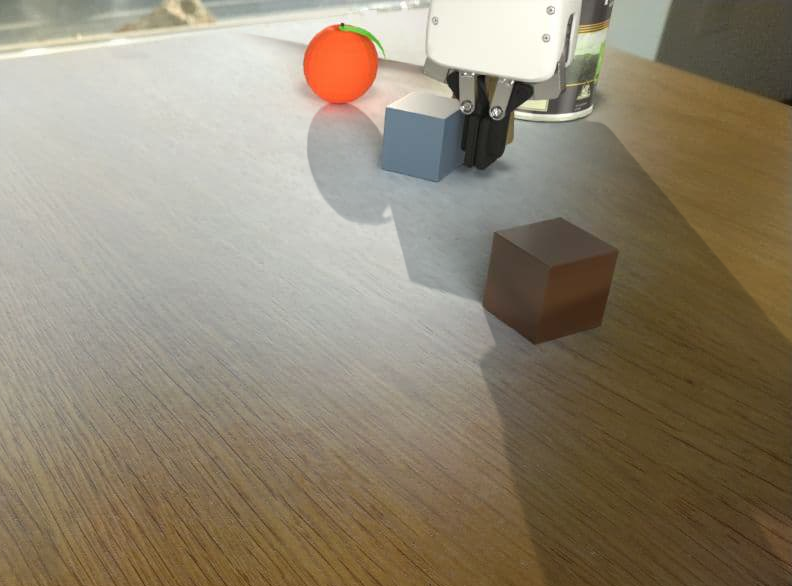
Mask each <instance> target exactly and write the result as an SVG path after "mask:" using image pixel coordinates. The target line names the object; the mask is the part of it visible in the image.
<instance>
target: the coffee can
mask: <svg viewBox="0 0 792 586" xmlns="http://www.w3.org/2000/svg"><path fill="white" fill-rule="evenodd" d="M614 3H615V0H582V5H581V15H580V23H579V31H578V38H577V44H576V49H575V53H574V57H573V60H572V62H571V64H570V65H569V66H567V67H566V68H565V73H566V91H565V92H564V93H563V94H562V95H561V96H559V97H558V98H556V99H549V100H527V101H526V102H524V103H523V104H522V105H520V106H519V107H518V108H516V109H515V110H514V119H517V120H523V121H529V122H530V121H531V122H544V123H545V122H548V123H549V122H551V123H552V122H555V123H556V122H568V121H574V120H580V119H583V118H585V117H587V116H589V115H590V114H591V113H592V112H593V110H594V102H595V97H596V92H597V87H598V82H599V76H600V71H601V67H602V62H603V57H604V52H605V46H606V41H607V37H608V32H609V27H610V22H611V18H612V14H613V13H612V12H613V8H614ZM568 40H569V39H568Z"/></svg>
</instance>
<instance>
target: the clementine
mask: <svg viewBox="0 0 792 586" xmlns="http://www.w3.org/2000/svg"><path fill="white" fill-rule="evenodd" d="M375 44H376V45H377V46H378V48H379V49H380V51H381V52H382V55H383V57H384V60H385V61H387V58H386V54H385V50H384V48H383V45H382V44H381V43H380V40H379V39H377V37H375V35H374V34H372V33H371V32H370V31H368V30H367V29H364V28H361V27H359V26H355V25H351V24H347V23H346V24H345V22H340V23H339V24H338V23H337V24H331V25H328V26H325V28H323V29H321V30H320V31H319V32H317V33H316V34H315V35H314V36H313V38H311V40H310V41H309V43H308V45H307V47H306V49H305V52H304V56H303V62H302V68H303V69H302V70H303V75H304V78H305V81H306V83H307V85H308V87H309V88H310V89H311V91H312V92H313V94H315V95H316V96H317V97H318V98H320V99H322V100H323V101H325V102H329V103H332V104H339V105H340V104H347V103H351V102H354V101H356V100H358V99H360V98H361V97H362V96H364V95H365V94H366V93H367V92H368V91H369V90H370V89H371V88H372V86H373V84H374V82H375V80H376V78H377V73H378V69H379V53H378V51H377V48H376V45H375Z"/></svg>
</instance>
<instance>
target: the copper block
mask: <svg viewBox="0 0 792 586" xmlns="http://www.w3.org/2000/svg"><path fill="white" fill-rule="evenodd" d="M491 243H492V244H491V249H490V255H489V261H488V269H487V275H486V280H485V287H484V292H483V293H484V294H483V299H482V308H484V309H485V310H487V311H488V312H489V313H491V314H492V315H494V316H495V317H496V318H497V319H499V320H500V321H502V322H503V323H504V324H506V325H507V326H509V327H510V328H511V329H513V330H514V331H515V332H517V333H518V334H520V336H522V337H524V338H525V339H526V340H528V341H529V342H530V343H532V344H534V345H539V344H541V343H545V342H550V341H552V340H557V339H561V338H562V337H563V338H564V337H566V336H570V335H573V334H577V333H580V332H584V331H588V330H591V329H595V328H597V327H600V326H602V323H603V318H604V314H605V310H606V307H607V303H608V298H609V294H610V289H611V286H612V281H613V277H614V274H615V269H616V265H617V261H618V257H619V253H620V249H619V248H617V247H615V246H613V245H611V244H610V243H608V242H607V241H604V240H602V239H601V238H599V237H598V236H595V235H594V234H591V232H588V231H587V230H585V229H583V228H581V227H579V226H578V225H576V224H574V223H572V222H571V221H569V220H567V219H565V218H563V217H561V216H558V217H554V218H550V219H545V220H541V221H536V222H533V223H532V222H531V223H528V224H524V225H519V226H515V227H511V228H506V229H501V230H497V231H494V232H493V236H492V242H491Z"/></svg>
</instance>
